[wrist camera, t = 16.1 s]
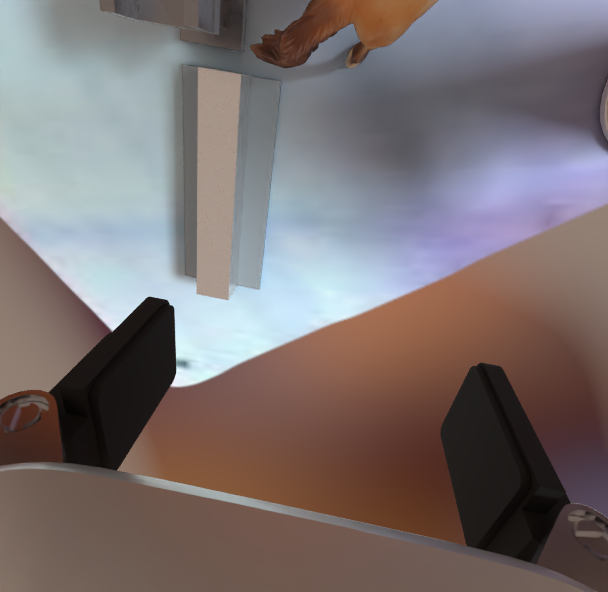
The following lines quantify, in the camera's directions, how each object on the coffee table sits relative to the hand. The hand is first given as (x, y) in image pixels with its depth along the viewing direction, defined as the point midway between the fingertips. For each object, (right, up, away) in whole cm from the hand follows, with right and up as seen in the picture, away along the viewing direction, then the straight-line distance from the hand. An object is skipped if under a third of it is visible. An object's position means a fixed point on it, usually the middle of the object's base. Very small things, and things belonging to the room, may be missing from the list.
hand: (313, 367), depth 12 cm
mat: (-9, +15, +32) cm, 36 cm away
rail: (-9, +14, +31) cm, 35 cm away
